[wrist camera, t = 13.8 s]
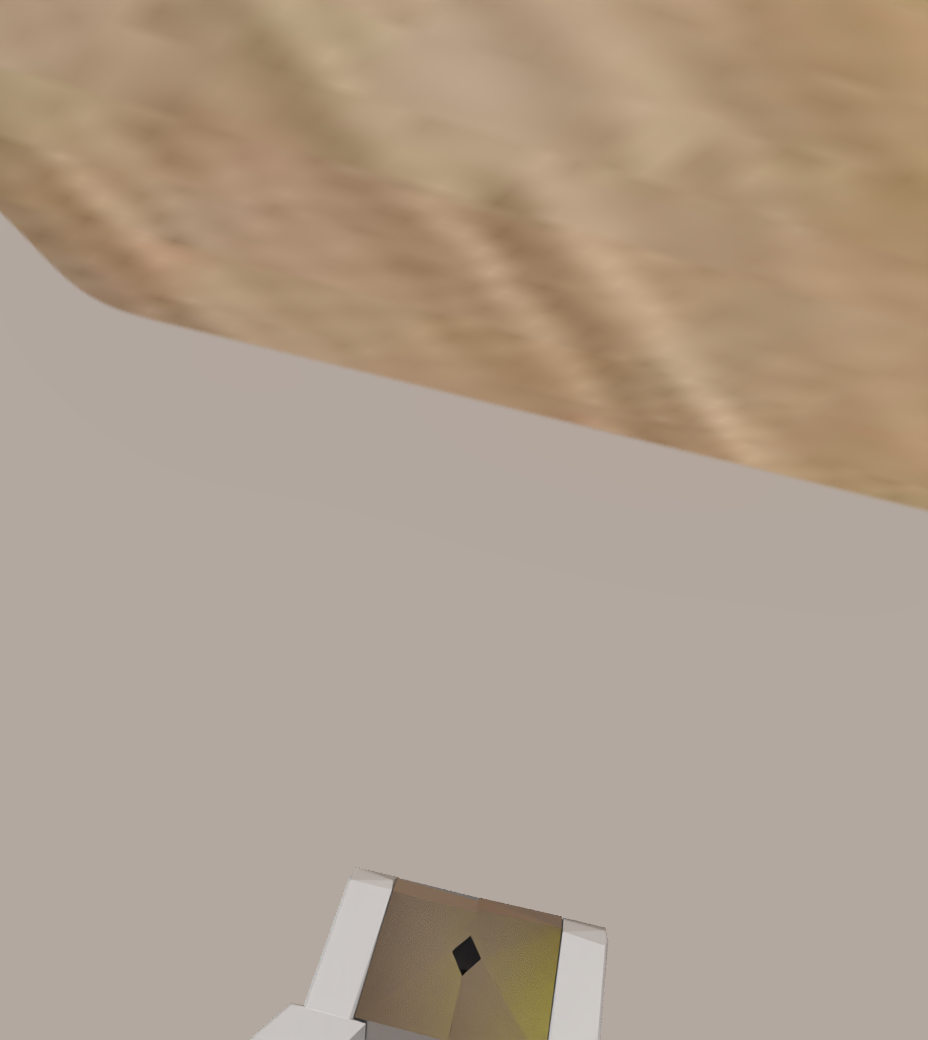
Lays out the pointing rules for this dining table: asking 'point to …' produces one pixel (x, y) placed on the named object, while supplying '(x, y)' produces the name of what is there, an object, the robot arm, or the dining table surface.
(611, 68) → the dining table surface
